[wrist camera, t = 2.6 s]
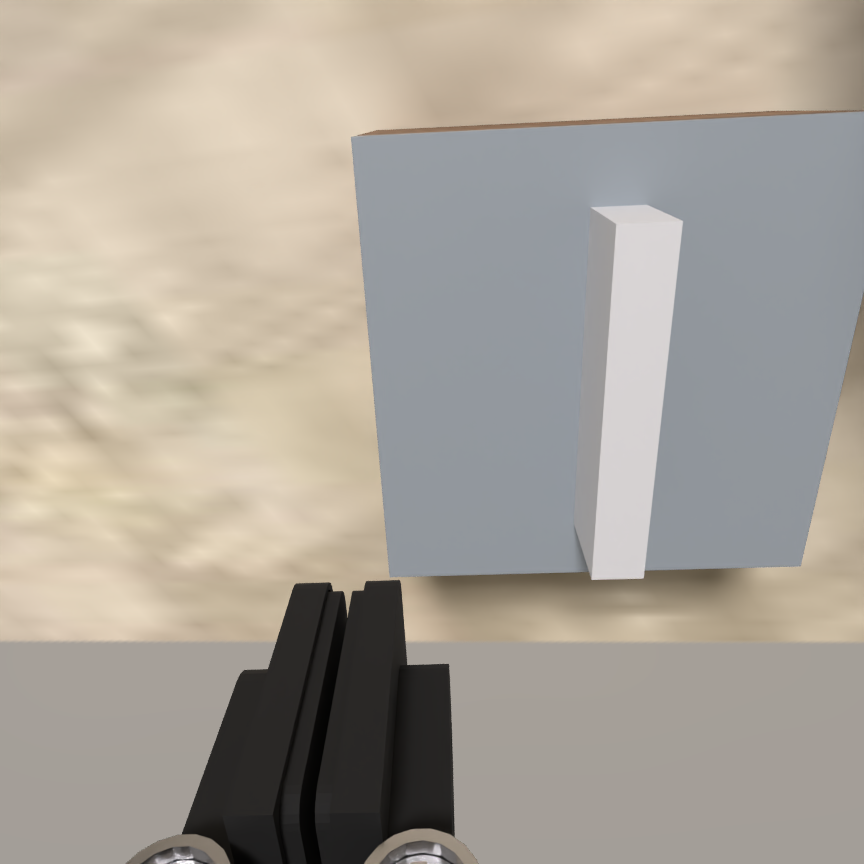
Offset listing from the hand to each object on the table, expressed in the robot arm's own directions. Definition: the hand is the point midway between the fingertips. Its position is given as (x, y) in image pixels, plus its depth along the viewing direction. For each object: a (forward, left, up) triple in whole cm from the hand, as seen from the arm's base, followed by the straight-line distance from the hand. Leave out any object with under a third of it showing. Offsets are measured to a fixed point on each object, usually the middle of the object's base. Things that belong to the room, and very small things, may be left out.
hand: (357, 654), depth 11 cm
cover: (0, +6, -12) cm, 13 cm away
